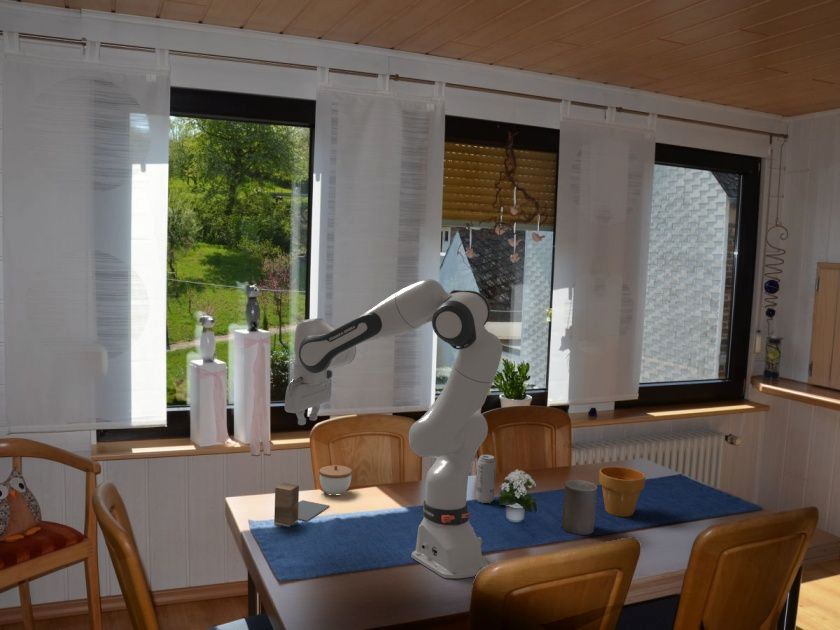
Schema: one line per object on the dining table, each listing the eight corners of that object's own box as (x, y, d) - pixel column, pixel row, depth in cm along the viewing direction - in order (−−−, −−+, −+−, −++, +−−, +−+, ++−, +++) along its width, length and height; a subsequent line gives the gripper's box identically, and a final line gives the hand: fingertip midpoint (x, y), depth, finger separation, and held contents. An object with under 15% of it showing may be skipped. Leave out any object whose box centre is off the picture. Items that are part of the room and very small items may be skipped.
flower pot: (641, 523, 230) (644, 482, 229) (594, 515, 235) (597, 476, 233) (643, 508, 244) (646, 470, 242) (599, 501, 248) (601, 464, 247)
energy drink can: (494, 504, 241) (497, 459, 239) (475, 503, 241) (478, 458, 239) (493, 498, 247) (495, 454, 245) (475, 497, 247) (477, 453, 245)
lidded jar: (356, 491, 248) (358, 463, 247) (340, 500, 238) (341, 472, 237) (329, 485, 252) (330, 458, 251) (312, 494, 242) (313, 466, 242)
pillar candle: (554, 526, 224) (558, 478, 222) (575, 519, 230) (578, 473, 229) (580, 537, 217) (584, 488, 215) (600, 530, 223) (604, 482, 221)
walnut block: (288, 527, 214) (290, 490, 213) (274, 524, 216) (275, 487, 215) (297, 521, 219) (299, 485, 218) (283, 518, 221) (284, 482, 220)
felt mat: (306, 521, 219) (306, 520, 219) (278, 515, 223) (278, 514, 223) (329, 506, 232) (329, 505, 232) (302, 501, 236) (302, 500, 236)
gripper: (299, 381, 200) (298, 431, 201) (335, 370, 219) (334, 416, 220) (279, 379, 202) (278, 428, 203) (317, 368, 221) (315, 413, 222)
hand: (307, 422), depth 212 cm, fingers open, 5 cm apart
